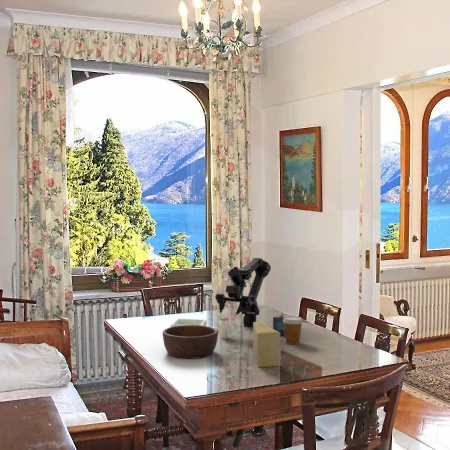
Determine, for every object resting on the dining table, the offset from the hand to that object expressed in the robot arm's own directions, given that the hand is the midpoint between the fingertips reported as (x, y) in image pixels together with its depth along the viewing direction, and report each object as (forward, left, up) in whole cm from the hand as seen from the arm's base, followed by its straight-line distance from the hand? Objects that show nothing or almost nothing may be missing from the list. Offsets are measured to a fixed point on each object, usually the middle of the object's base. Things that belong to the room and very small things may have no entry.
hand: (228, 313), depth 317 cm
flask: (-27, -8, -12) cm, 30 cm away
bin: (+22, -11, -11) cm, 27 cm away
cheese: (-21, +42, -12) cm, 48 cm away
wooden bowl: (+12, +35, -12) cm, 39 cm away
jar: (+1, +4, -11) cm, 12 cm away
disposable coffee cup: (-33, +9, -12) cm, 36 cm away
